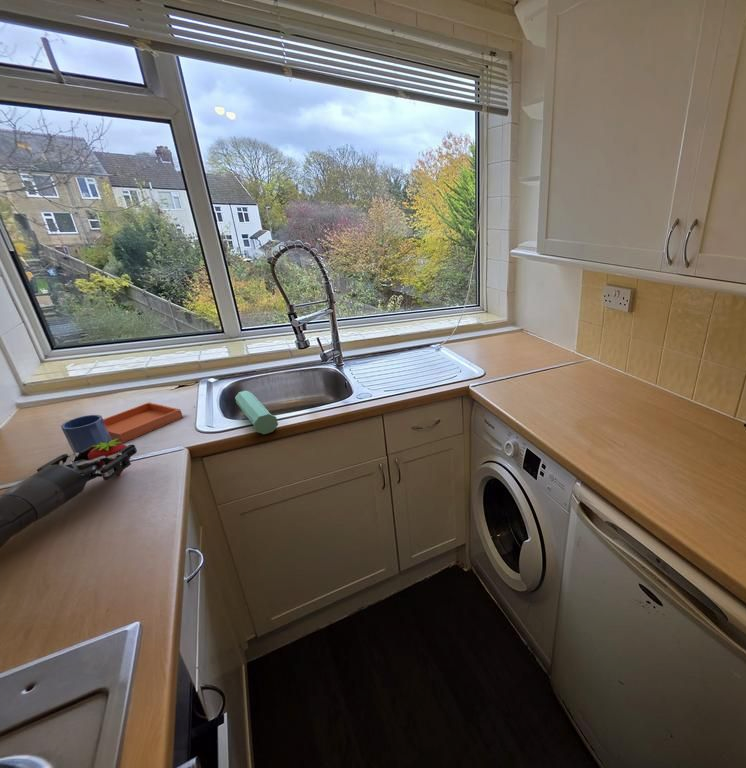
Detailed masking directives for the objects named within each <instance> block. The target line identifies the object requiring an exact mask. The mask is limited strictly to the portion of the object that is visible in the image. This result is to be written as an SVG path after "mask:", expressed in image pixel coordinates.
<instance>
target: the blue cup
mask: <svg viewBox="0 0 746 768" xmlns="http://www.w3.org/2000/svg"><path fill="white" fill-rule="evenodd" d="M103 419H104V418H103V416H102V415H100V414H88V415H81V416H79V417H74V418H72V419H69V420H67V421H65V422H64V423H62V424H61V425H60V428H61V430H62V432H63V434H64V436H65V438H66V440H67V442H68V444H69V447H70V449H71V451H72V452H73V453H77V452H78V453H79V452H81V451H82V450H84V449H86V448H88V447H89V446H91V445H93V444H97V445H98V444H100V443H106V435H107V443H109V442H110V441H112V439H111V437H110V434H109V432H108V430H107V427H106V425H105V423H104V421H103ZM73 453H72V454H73Z"/></svg>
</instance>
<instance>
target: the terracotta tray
mask: <svg viewBox="0 0 746 768" xmlns="http://www.w3.org/2000/svg"><path fill="white" fill-rule="evenodd" d="M182 418H183V414H182V410H181V409H180V408H175V407H171V406H166V405H163V404H159V403H153V402H146V403H143V404H140V405H137V406H135V407H133V408H129V409H127V410H124V411H122V412H121V411H120V412H118V413H116V414H113V415H111V416H108V417H106V418H103V421H104V423H105V425H106V427H107V430H108V432H109V434H110V437H111V439H112V440H115V439H118V438H119V439H118V440H116V441H115V442H122V443H121V444H124V443H127V442H129V441H131V440H133V439H135V438H138V437H141V436H142V435H145V434H147V433H149V432H152V431H155V430H157V429H159V428H161V427H163V426H166V425H168V424H171V423H172V422H175V421H178V420H180V419H182Z"/></svg>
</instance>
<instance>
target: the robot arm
mask: <svg viewBox="0 0 746 768" xmlns="http://www.w3.org/2000/svg"><path fill="white" fill-rule="evenodd" d="M94 445H97V444H93V445H91V446H94ZM91 446H89V447H88V448H86V449H84V450H82V451H81V452H79V453H78V452H77V453H71V454H70V455H68V454H67V453H64V454H61V455H59V456H58V457H55V458H53V459H52V460H50V461H48V462H46V463H45V464H43V465H42V466H39V467H38V468H37V469H36V473H33V474H32V475H30V476H29V477H27V478H24V479H23V480H20V481H19V482H17V483H16V484H14V485H12V486H11V487H9V488H7V489H6V490H5V491H4V492H3V493H1V494H0V550H1V549H2V548H3V547H4V546H5V545H6V544H7V542H9V540H11V539H12V538H13V537H15V536H16V535H18V534H19V533H21V532H22V531H24V530H25V529H27V528H28V527H29V526H31V525H32V524H34V523H36V522H37V521H39V520H41V519H43V518H45V517H47V516H49V515H51V514H52V513H53V512H54V511H56V510H58V509H59V508H61V507H62V506H64V505H65V504H67V502H69V501H71V500H72V499H74V498H75V497H77V496H78V495H80V494H81V493H82V492H83V491H84V489H85V486H86V484H87V483H88V482H89V481H92V480H94V479H96V478H100V477H101V478H102V479H103V480H104V481H109V480H110V479H112V478H113V477H115V475H116V474H118V473H119V472H121V471H122V470H123V471H124V470H125V469H127V468H128V467H130V466H131V465H132V462H131V461H130V460H131V459H130V460H129V457H130V458H131V457H133V456H134V455H136V454H137V453H138V450H137V447H136V445H135V444H128V445H126V446H127V447H125V448H124V449H122V450H120V451H119V452H117V453H116V454H113V455H110V456H107V457H106V456H101V457H98V458H95V459H92V460H88V453H89V452H90V451H91V450H92V449H94V448H96V447H91ZM114 458H115V460H113V461H112V462H110V463H109V460H112V459H114ZM100 461H103V463H104V466H102V468H101V467H100V464H99V462H100ZM60 462H62V464H60ZM123 471H122V472H123Z"/></svg>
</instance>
